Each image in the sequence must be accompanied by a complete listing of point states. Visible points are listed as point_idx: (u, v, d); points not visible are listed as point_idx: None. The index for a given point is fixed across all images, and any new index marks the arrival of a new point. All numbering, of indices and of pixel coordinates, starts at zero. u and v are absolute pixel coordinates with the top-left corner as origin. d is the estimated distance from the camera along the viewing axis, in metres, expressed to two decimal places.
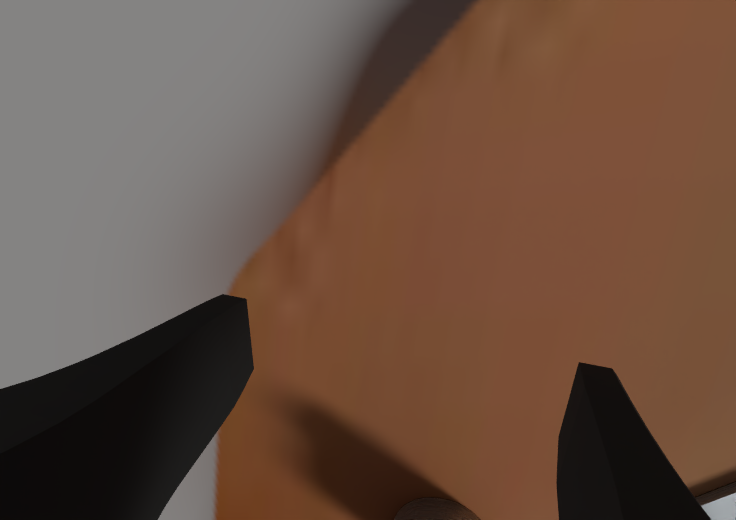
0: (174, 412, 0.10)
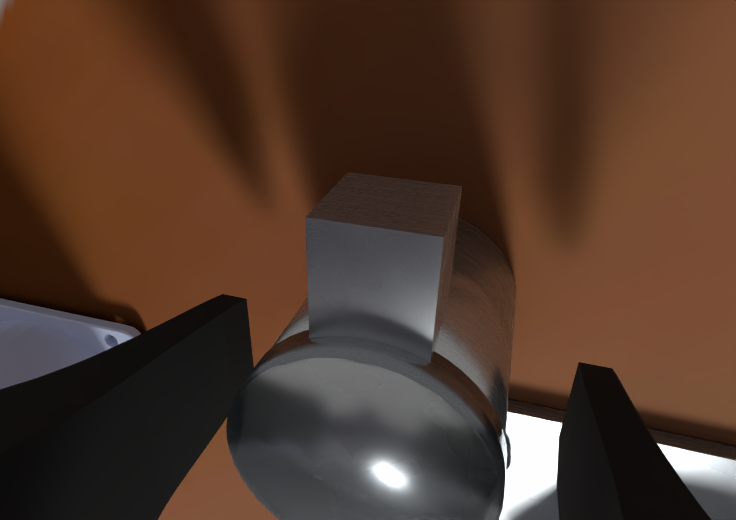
0: (174, 412, 0.10)
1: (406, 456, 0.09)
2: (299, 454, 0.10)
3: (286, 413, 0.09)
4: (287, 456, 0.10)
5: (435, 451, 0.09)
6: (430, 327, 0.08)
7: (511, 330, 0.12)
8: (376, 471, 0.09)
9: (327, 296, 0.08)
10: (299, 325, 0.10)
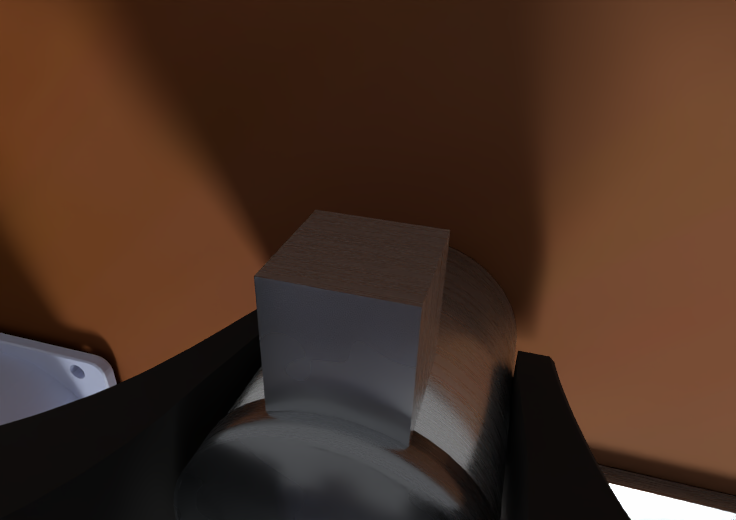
0: None
1: None
2: None
3: (240, 497, 0.08)
4: None
5: None
6: (407, 408, 0.07)
7: (510, 381, 0.10)
8: None
9: (284, 366, 0.07)
10: (259, 387, 0.08)
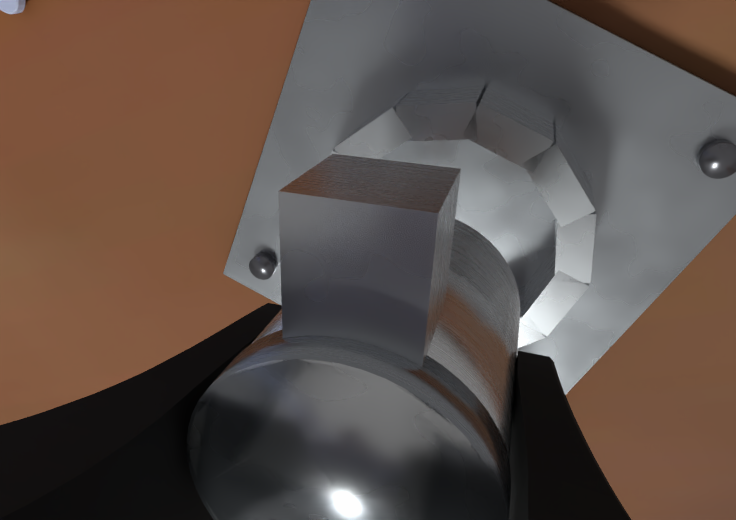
0: None
1: (392, 480, 0.07)
2: (269, 476, 0.08)
3: (254, 426, 0.08)
4: (256, 479, 0.08)
5: (427, 474, 0.07)
6: (422, 324, 0.07)
7: (515, 343, 0.11)
8: (358, 498, 0.08)
9: (303, 287, 0.07)
10: (274, 326, 0.09)
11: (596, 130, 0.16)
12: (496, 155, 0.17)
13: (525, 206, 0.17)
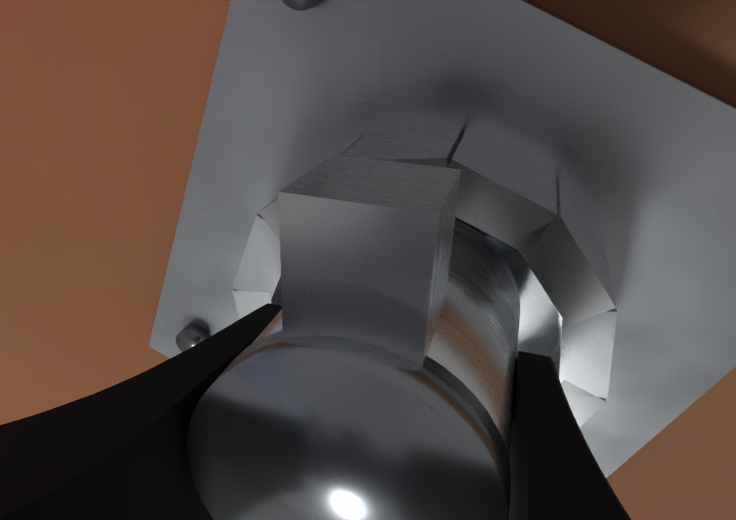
0: None
1: (392, 480, 0.07)
2: (269, 477, 0.08)
3: (254, 427, 0.08)
4: (256, 480, 0.08)
5: (427, 474, 0.07)
6: (422, 324, 0.07)
7: (515, 343, 0.11)
8: (358, 498, 0.08)
9: (303, 287, 0.07)
10: (274, 327, 0.09)
11: (616, 189, 0.12)
12: None
13: (520, 283, 0.13)
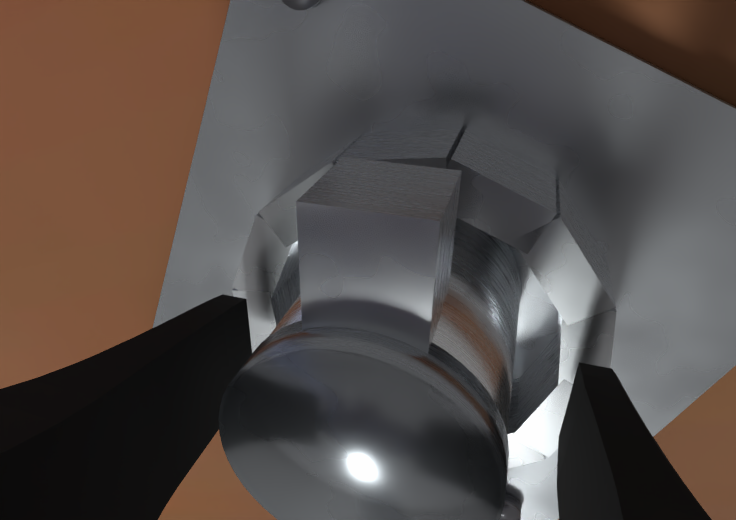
0: (174, 412, 0.10)
1: (403, 452, 0.08)
2: (293, 449, 0.09)
3: (279, 407, 0.09)
4: (282, 451, 0.09)
5: (433, 446, 0.08)
6: (427, 317, 0.08)
7: (515, 323, 0.12)
8: (372, 467, 0.09)
9: (320, 284, 0.08)
10: (293, 316, 0.09)
11: (615, 189, 0.12)
12: None
13: None
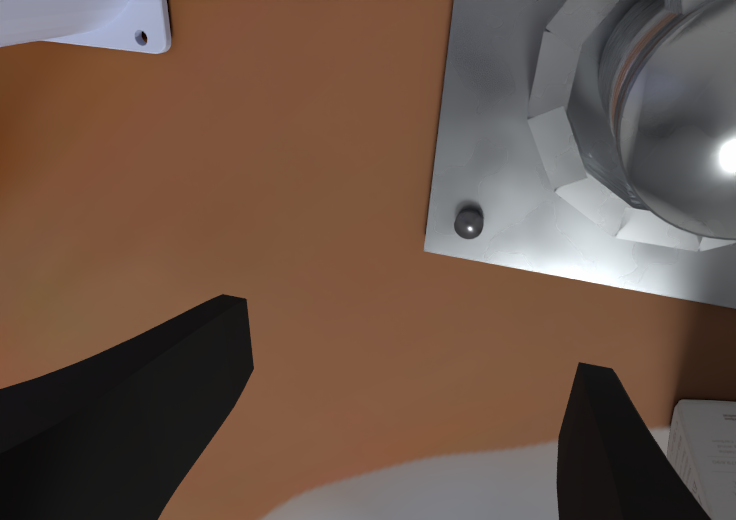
0: (174, 412, 0.10)
1: None
2: (695, 133, 0.11)
3: (680, 90, 0.10)
4: (683, 143, 0.11)
5: None
6: None
7: None
8: None
9: None
10: (651, 36, 0.11)
11: None
12: None
13: None
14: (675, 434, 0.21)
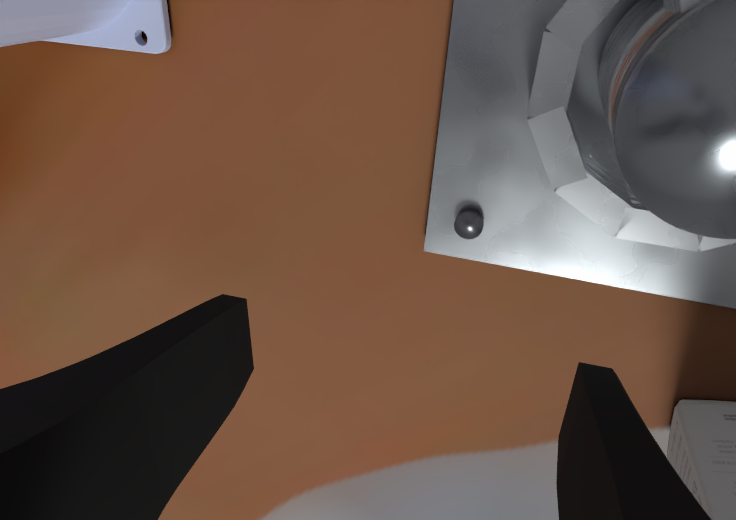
0: (174, 412, 0.10)
1: None
2: (693, 131, 0.11)
3: (677, 87, 0.10)
4: (680, 140, 0.11)
5: None
6: None
7: None
8: None
9: None
10: (649, 34, 0.11)
11: None
12: None
13: None
14: (675, 434, 0.21)
